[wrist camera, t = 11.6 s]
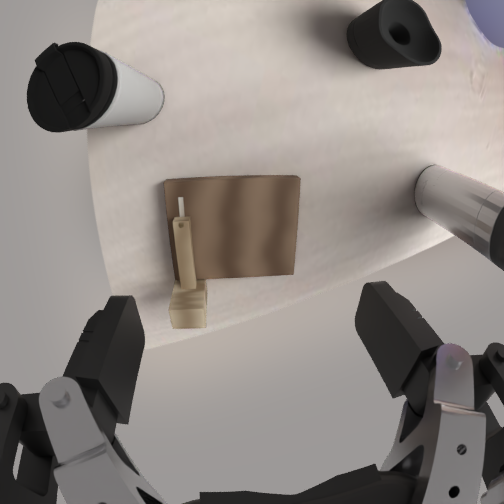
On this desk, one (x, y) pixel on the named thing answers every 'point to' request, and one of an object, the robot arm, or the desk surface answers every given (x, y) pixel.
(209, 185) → the walnut board
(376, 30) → the pen holder
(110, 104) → the travel mug
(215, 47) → the desk surface
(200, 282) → the marking gauge
